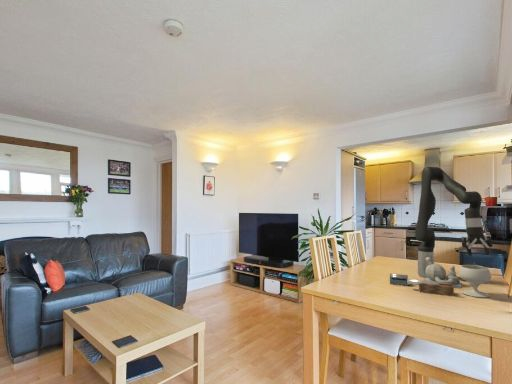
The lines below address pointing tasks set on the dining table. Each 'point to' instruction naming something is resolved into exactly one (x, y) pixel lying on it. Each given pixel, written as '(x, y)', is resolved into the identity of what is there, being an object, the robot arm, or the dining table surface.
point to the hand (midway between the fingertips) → (478, 255)
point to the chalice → (475, 278)
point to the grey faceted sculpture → (441, 274)
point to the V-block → (398, 279)
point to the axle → (416, 282)
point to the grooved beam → (437, 289)
